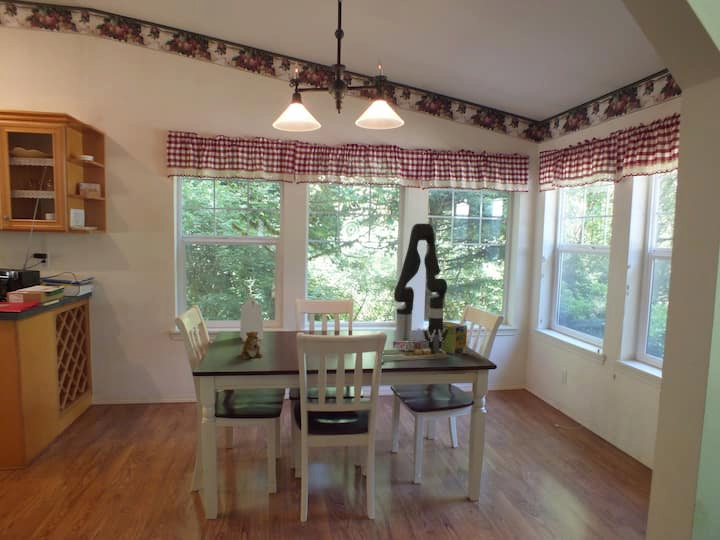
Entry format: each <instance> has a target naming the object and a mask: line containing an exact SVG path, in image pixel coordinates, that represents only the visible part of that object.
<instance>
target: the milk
mask: <svg viewBox="0 0 720 540" xmlns="http://www.w3.org/2000/svg"><path fill="white" fill-rule="evenodd" d="M248 296H249V298H248V300H247V301H246V302H244V303H243V304H242V306H241V309H240V330H239V338H240V337H241V338H242V339H243V340H242V339H241V338H240V339H241V340H242V341H243V342H244V341H246V339H247V338H248V336H247V335H246V332H248V333H249V332H258V334H257V337H258V339H263V340H264V321H263V319H264V318H263V308H262V307H261V306H260V303H259V302H258V301H257V300H255V297H254V295H253V294H249V295H248ZM258 339H257V340H258Z"/></svg>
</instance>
